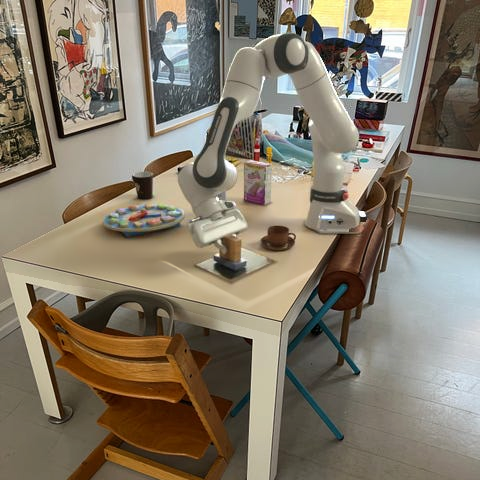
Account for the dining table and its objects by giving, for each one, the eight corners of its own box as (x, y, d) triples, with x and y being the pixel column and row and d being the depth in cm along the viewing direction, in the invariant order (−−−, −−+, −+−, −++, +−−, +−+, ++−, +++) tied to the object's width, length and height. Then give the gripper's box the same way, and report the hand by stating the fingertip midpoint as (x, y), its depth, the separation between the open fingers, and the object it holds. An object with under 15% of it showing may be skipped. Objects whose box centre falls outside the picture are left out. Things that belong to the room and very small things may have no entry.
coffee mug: (157, 199, 208) (154, 176, 203) (137, 201, 206) (134, 178, 200) (151, 191, 217) (148, 169, 212) (132, 193, 215) (129, 171, 209)
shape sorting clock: (167, 205, 201) (166, 191, 198) (197, 229, 179) (197, 214, 176) (94, 218, 189) (92, 203, 185) (117, 246, 166) (115, 229, 163)
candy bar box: (243, 200, 206) (243, 162, 198) (249, 197, 210) (250, 159, 201) (264, 206, 201) (265, 166, 192) (271, 202, 204) (272, 163, 195)
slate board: (239, 247, 165) (239, 246, 165) (274, 262, 156) (274, 260, 155) (195, 266, 153) (195, 264, 153) (230, 282, 144) (230, 281, 143)
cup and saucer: (290, 238, 172) (291, 222, 169) (298, 252, 162) (299, 235, 159) (257, 240, 171) (257, 223, 167) (263, 254, 161) (264, 237, 157)
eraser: (213, 260, 154) (213, 234, 149) (224, 256, 157) (225, 230, 153) (235, 270, 148) (236, 243, 144) (246, 266, 151) (247, 239, 147)
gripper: (188, 216, 142) (211, 256, 141) (237, 200, 154) (259, 237, 153) (180, 226, 147) (202, 265, 146) (228, 210, 159) (248, 246, 159)
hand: (231, 250), depth 150 cm, fingers closed on eraser, 3 cm apart
